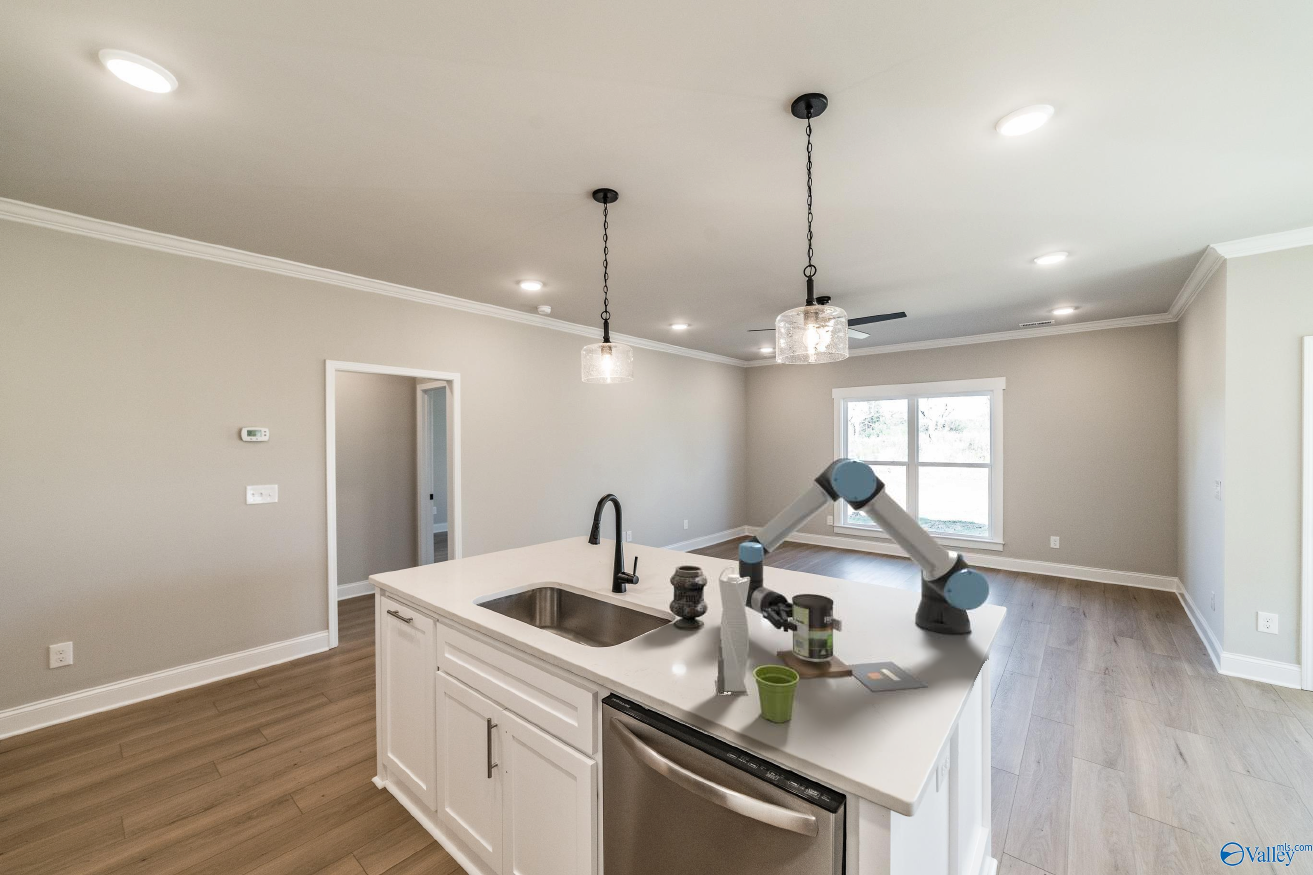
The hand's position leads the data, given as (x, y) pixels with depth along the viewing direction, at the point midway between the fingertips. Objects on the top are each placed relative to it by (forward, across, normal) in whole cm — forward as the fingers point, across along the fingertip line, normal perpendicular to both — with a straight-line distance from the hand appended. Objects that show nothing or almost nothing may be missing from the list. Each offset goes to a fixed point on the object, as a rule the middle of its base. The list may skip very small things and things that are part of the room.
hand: (824, 629), depth 131 cm
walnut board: (-4, 0, -11) cm, 11 cm away
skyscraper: (-3, +25, -11) cm, 28 cm away
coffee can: (-4, 0, -8) cm, 9 cm away
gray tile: (+8, -11, -11) cm, 17 cm away
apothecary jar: (-44, +16, -11) cm, 48 cm away
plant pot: (+12, +24, -11) cm, 29 cm away
